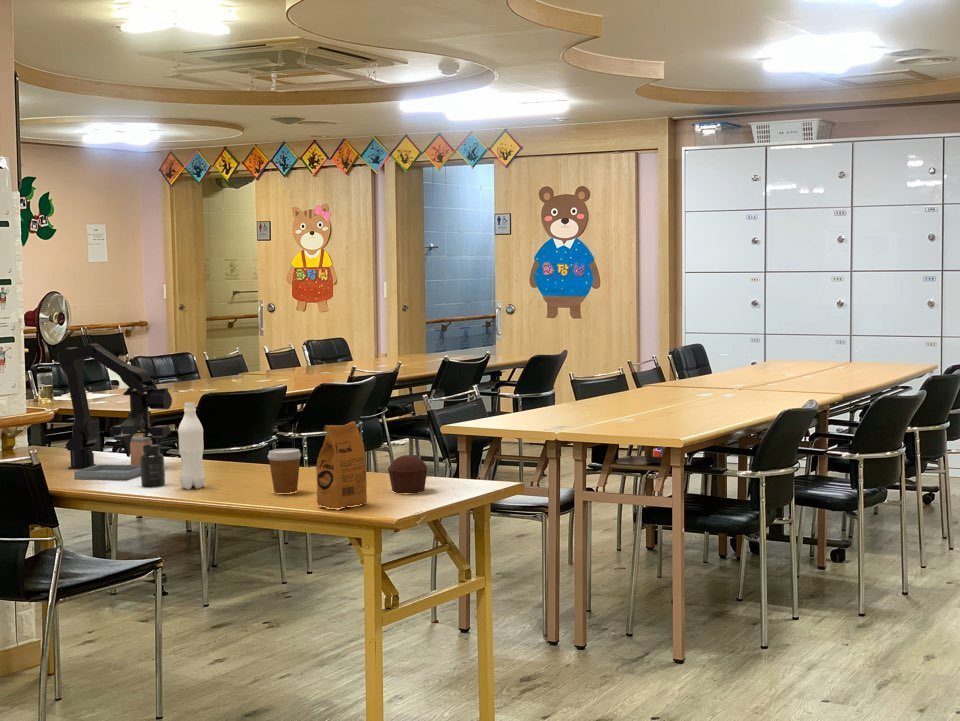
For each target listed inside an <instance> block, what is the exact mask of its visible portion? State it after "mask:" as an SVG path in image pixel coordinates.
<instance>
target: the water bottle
mask: <svg viewBox="0 0 960 721" xmlns="http://www.w3.org/2000/svg"><path fill="white" fill-rule="evenodd" d="M196 411H197V409H196V402H194V401H188V402H184V408H183V412H184V414H183V417H182V420H181V421H180V424H179V426H178V429H177V434H178V451H179V455H180V460H181V468H180V475H179V481H180V482H179V483H180V486H181V487H182V488H183V489H186V490H191V489H192V487H194V488H195V489H196V490H197V489H198V488H199V489H200V488H202V487H203V486H204V484H205V482H206V475H205V469H204V467H203V466H204V465H203V454H204V450H205V449H204V428H203V425H202V423H201V421H200V419H199V418H198V416H197V413H196Z"/></svg>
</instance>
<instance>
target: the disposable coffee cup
mask: <svg viewBox="0 0 960 721" xmlns="http://www.w3.org/2000/svg"><path fill="white" fill-rule="evenodd" d="M301 457H302V453H301V450H300V449H299V448H276V449H272V450H269V451H268V455H267V459H268V461H269V462H268V463H269V467H270V474H271V481H272V486H273V493H274V492H276V493H290V492H295V491H297V492H298V486H299V485H298V484H299V475H300V474H299V473H300V464H301V463H300V461H301Z"/></svg>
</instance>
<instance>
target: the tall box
mask: <svg viewBox="0 0 960 721" xmlns="http://www.w3.org/2000/svg"><path fill="white" fill-rule="evenodd" d="M150 437H151V436H150ZM150 437H149V436H148V437H146V436H141V437H140V436H138V437H133V438H131V442H130V465H140V458H141V456H142V455H143V454H144V452H143V446H145V445H152V440H151V438H150Z"/></svg>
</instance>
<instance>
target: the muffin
mask: <svg viewBox="0 0 960 721" xmlns="http://www.w3.org/2000/svg"><path fill="white" fill-rule="evenodd" d="M428 468H429V467H428V466H427V464H426V463H425V462H424V460H422V459H421V458H420V457H418V456H416V455H411V454H404V455H400V456H397V457H396V458H395V459H394V460H392V462H391V464H390V465H389V466H388V468H387V472H388V474H389V480H390V486H391V491H394V492H396V493H416V494H419V493H418V492H421V493H423V492H425V487H426V481H427V472H428ZM422 491H423V492H422ZM394 492H393V493H394ZM396 493H395V494H396Z"/></svg>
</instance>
